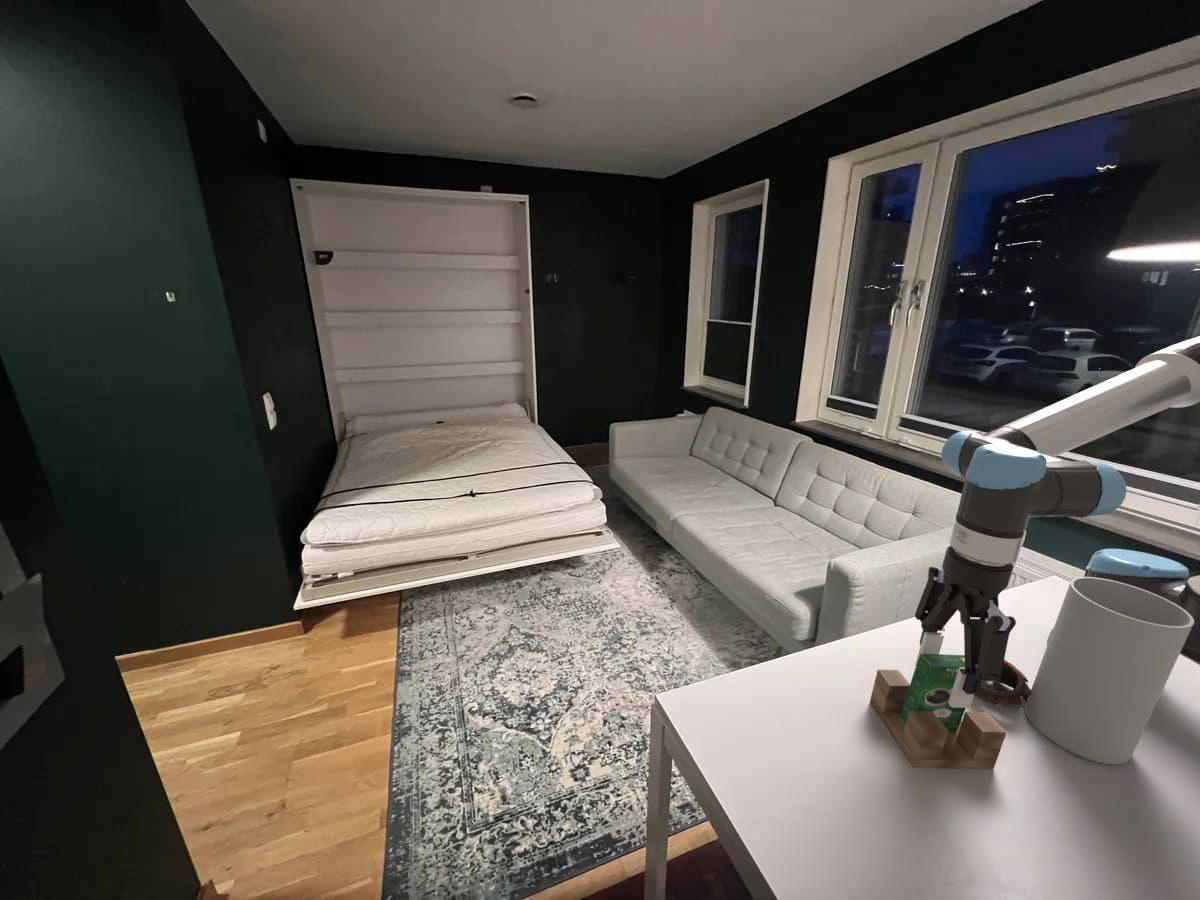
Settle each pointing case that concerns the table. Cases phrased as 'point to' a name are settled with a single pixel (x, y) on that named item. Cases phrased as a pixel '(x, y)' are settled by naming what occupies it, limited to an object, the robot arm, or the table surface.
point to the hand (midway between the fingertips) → (941, 685)
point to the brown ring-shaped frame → (1013, 680)
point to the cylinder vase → (1105, 668)
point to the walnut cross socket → (935, 730)
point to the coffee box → (935, 689)
